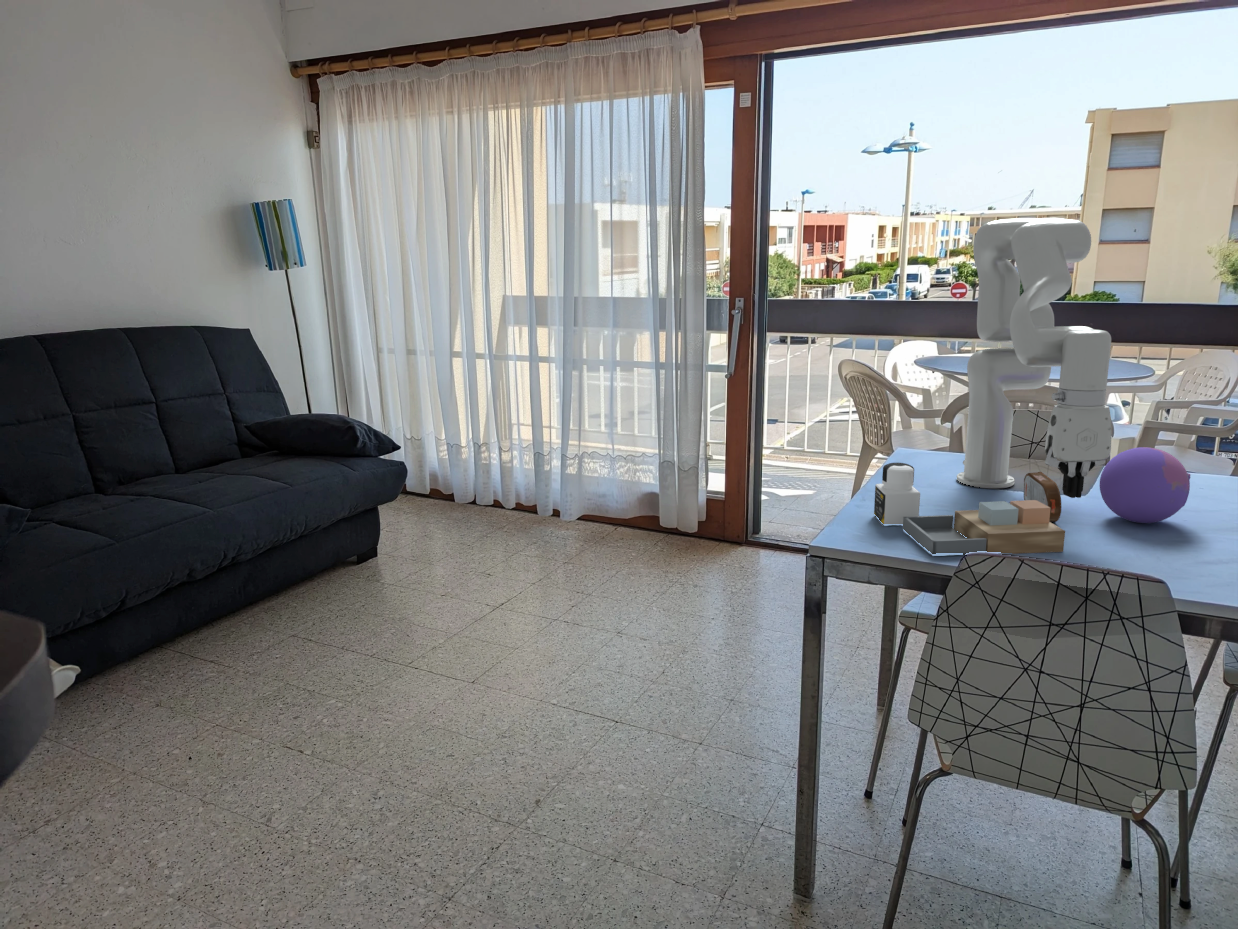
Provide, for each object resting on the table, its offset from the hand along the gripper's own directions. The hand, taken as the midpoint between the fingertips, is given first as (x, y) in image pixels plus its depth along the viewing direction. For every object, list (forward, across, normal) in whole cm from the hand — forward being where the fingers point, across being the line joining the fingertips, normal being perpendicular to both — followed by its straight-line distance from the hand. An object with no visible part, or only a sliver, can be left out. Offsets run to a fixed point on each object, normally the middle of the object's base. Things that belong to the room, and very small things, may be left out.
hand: (1071, 495), depth 152 cm
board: (+8, -11, +1) cm, 14 cm away
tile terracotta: (+4, -7, +1) cm, 9 cm away
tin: (+8, +3, +15) cm, 17 cm away
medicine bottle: (+8, -27, +15) cm, 32 cm away
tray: (+9, -24, +1) cm, 25 cm away
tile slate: (+5, -13, +1) cm, 14 cm away
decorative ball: (+8, +20, +9) cm, 23 cm away
